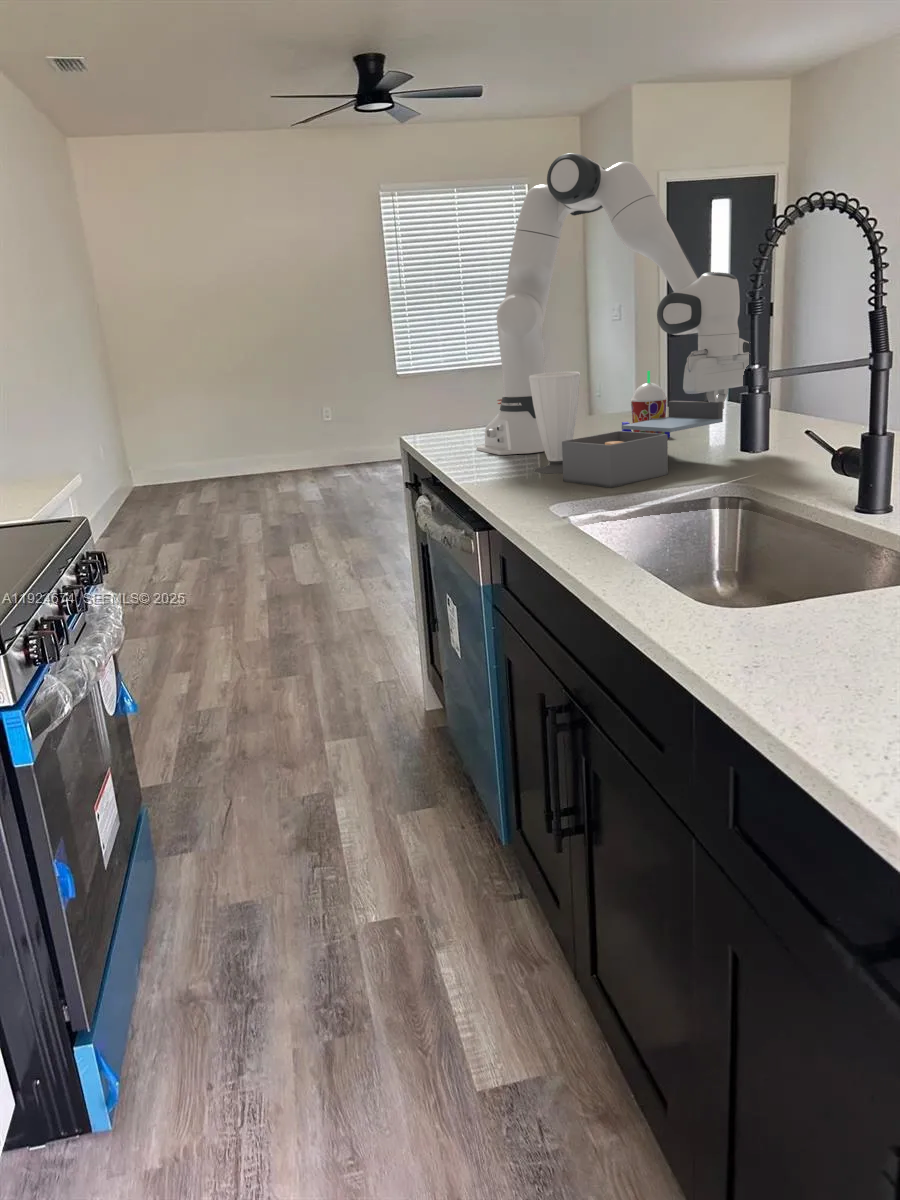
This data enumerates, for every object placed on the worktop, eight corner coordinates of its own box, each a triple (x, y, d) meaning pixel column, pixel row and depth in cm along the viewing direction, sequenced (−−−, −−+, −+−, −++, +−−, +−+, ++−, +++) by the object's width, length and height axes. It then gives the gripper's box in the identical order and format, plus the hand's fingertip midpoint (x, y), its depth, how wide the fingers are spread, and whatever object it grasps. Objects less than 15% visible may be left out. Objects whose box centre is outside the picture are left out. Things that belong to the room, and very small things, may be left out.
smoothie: (670, 457, 205) (670, 370, 198) (635, 460, 205) (634, 373, 199) (662, 452, 212) (662, 368, 206) (628, 455, 213) (627, 371, 207)
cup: (533, 467, 206) (528, 374, 200) (581, 464, 205) (578, 370, 199) (533, 475, 196) (528, 377, 189) (585, 472, 194) (581, 373, 188)
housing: (563, 481, 186) (561, 441, 183) (619, 468, 195) (618, 430, 192) (610, 487, 175) (609, 445, 172) (667, 474, 184) (667, 434, 181)
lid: (621, 428, 193) (621, 409, 192) (672, 419, 202) (672, 400, 201) (670, 432, 182) (670, 411, 181) (722, 422, 191) (722, 402, 190)
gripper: (699, 351, 188) (698, 415, 192) (757, 344, 199) (755, 405, 203) (676, 351, 193) (676, 414, 197) (734, 344, 204) (733, 404, 208)
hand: (717, 410), depth 200 cm, fingers closed
